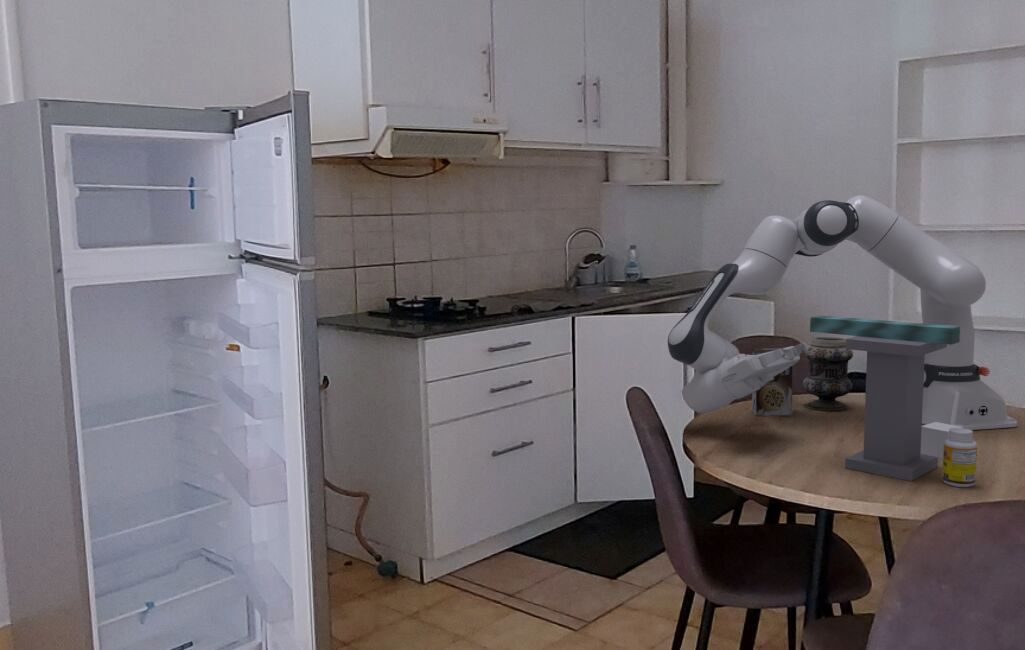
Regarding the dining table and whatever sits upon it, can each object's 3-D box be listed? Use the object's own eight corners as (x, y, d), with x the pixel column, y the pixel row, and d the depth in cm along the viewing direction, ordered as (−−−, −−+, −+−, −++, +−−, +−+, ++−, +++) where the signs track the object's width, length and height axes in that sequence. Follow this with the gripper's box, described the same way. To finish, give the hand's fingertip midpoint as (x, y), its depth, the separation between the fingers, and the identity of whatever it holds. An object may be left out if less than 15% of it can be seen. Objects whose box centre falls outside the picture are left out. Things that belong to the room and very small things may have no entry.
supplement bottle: (944, 477, 176) (946, 425, 174) (976, 481, 173) (979, 428, 171) (940, 485, 171) (942, 431, 170) (973, 489, 168) (976, 435, 167)
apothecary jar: (859, 406, 237) (862, 337, 235) (838, 414, 229) (840, 342, 226) (815, 399, 246) (817, 333, 243) (793, 407, 237) (795, 338, 235)
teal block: (810, 331, 190) (810, 317, 189) (819, 329, 193) (819, 315, 192) (951, 344, 170) (952, 328, 170) (959, 342, 173) (960, 326, 173)
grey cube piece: (946, 460, 187) (947, 431, 187) (919, 454, 192) (920, 426, 192) (962, 455, 191) (963, 427, 190) (935, 449, 196) (936, 421, 195)
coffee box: (787, 410, 234) (788, 347, 232) (792, 416, 228) (794, 351, 225) (750, 410, 235) (752, 347, 233) (754, 415, 228) (756, 351, 226)
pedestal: (841, 468, 183) (845, 338, 179) (871, 454, 192) (876, 331, 189) (913, 482, 173) (918, 345, 169) (941, 466, 183) (947, 337, 179)
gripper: (711, 368, 198) (762, 341, 188) (760, 355, 212) (809, 330, 203) (724, 395, 196) (775, 369, 187) (772, 380, 211) (822, 356, 201)
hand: (794, 348), depth 195 cm, fingers open, 8 cm apart
